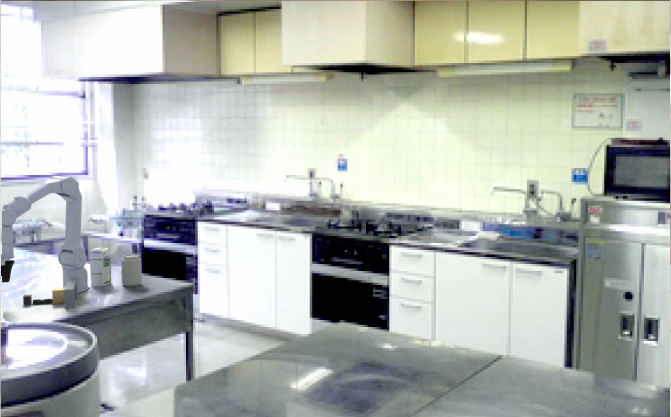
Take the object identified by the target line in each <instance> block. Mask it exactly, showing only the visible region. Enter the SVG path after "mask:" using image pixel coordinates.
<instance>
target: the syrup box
mask: <svg viewBox="0 0 671 417" xmlns="http://www.w3.org/2000/svg"><path fill="white" fill-rule="evenodd" d="M111 264H112V263H111V248H109V247H96V248H93V249H90V250H89V270H90V271H89V273H90V285H91V286H92V285H93V287H103V286H104V287H105V286H108V285H110V284H112V267H111V266H112V265H111Z"/></svg>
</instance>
